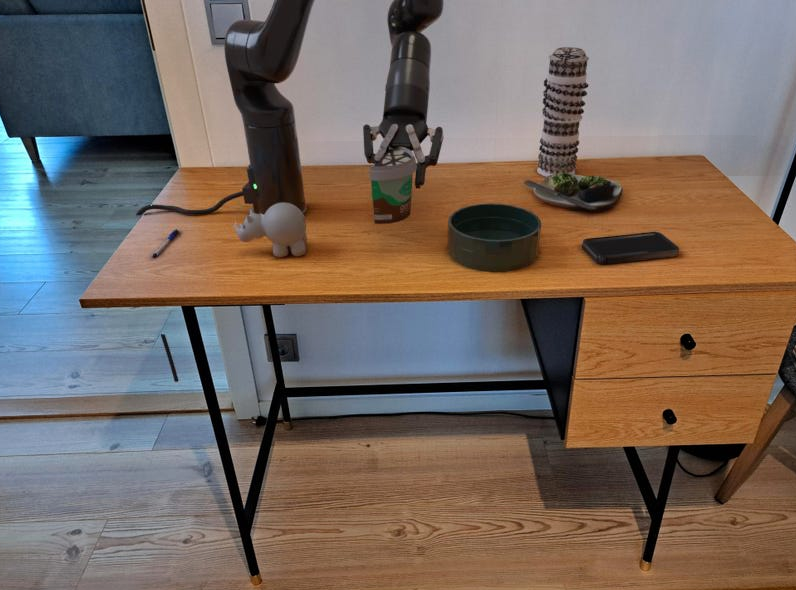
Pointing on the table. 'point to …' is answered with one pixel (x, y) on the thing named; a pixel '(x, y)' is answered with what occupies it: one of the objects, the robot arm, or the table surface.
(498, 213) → the bowl
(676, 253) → the phone
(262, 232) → the round bodied animal figurine
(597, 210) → the salad plate
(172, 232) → the ballpoint pen
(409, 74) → the robot arm
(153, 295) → the table surface
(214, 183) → the table surface
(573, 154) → the decorative candle
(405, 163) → the food container
